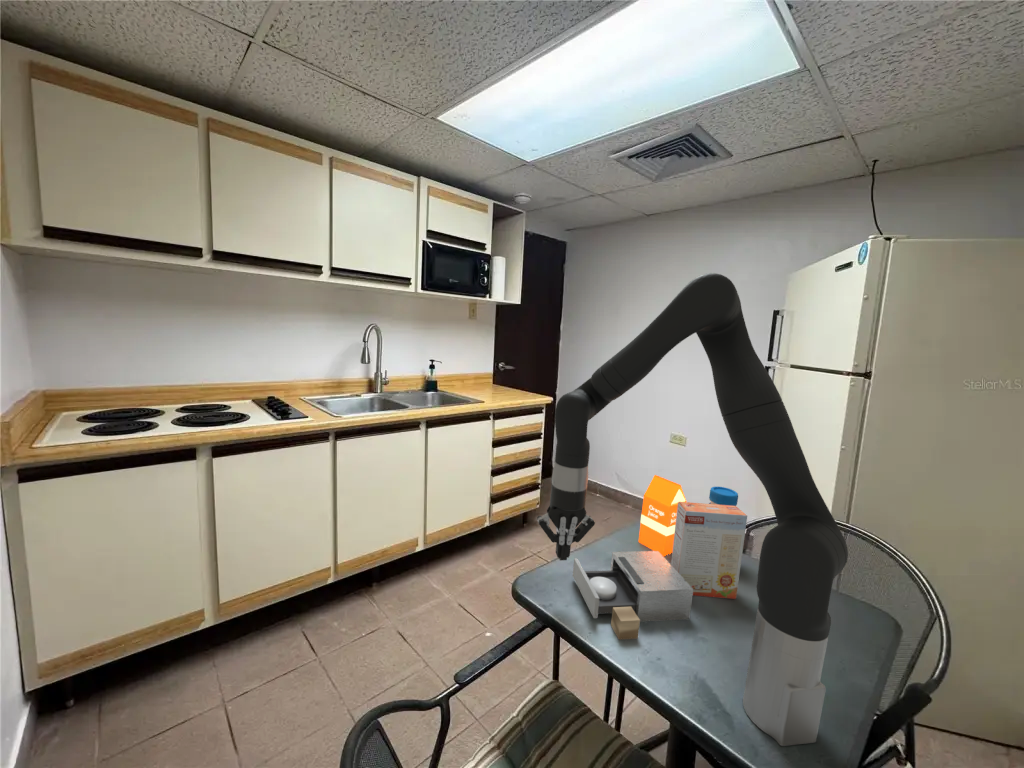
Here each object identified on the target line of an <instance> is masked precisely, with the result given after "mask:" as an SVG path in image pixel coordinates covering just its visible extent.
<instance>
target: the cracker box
mask: <svg viewBox="0 0 1024 768" xmlns="http://www.w3.org/2000/svg"><path fill="white" fill-rule="evenodd" d="M747 521H748V515H747V513H745V512H743V511H742V510H741V509H740V508H739V507H738V506H737V505H736V506H730V505H717V504H709V503H699V502H688V501H687V502H678V507H677V516H676V524H675V533H674V542H673V551H672V554H671V561H670V564H671V565H672V566H673V568H674V569H675V570H676V571H677V572H678V573H679V574H680V575H681V576H682V577H683V578H684V579H685V581H686V582H687V583H688V584H689V585H690V586H691V587H692V588H693V596H695V597H707V598H721V599H731V600H736V599H737V594H738V588H739V578H740V573H741V565H742V558H743V550H744V545H745V543H744V542H745V536H746V530H747V529H746V527H747V523H748V522H747ZM693 596H692V597H693Z"/></svg>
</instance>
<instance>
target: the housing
mask: <svg viewBox="0 0 1024 768" xmlns="http://www.w3.org/2000/svg"><path fill="white" fill-rule="evenodd" d="M611 553H612V554H611V563H610V570H621V571H622V573H623V574H624V576H625V577H626V579H627V580H628V581H629V583H630V584H631V586H632V587H633V588H634V590H635V591H636V593H637V594H638V597H637V605H636V612H635V613H636V615H637V616H638V618H639V619H640V623H643V622H644V623H645V622H663V621H676V620H677V621H679V620H680V621H681V620H690V617H691V611H692V610H691V609H692V602H693V588H692V587H691V586H690V585H689V584H688V583H687V582H686V581H685V579H684V578H683V577H682V576H681V575H680V574H679V573H678V572H677V571H676V570H675V569H674V568H673V566H672V565H671V562H670V561H668V560H667V559H666V557H665V556H662V555H661V554H660V552H659V551H653V550H648V551H646V550H643V551H641V550H639V551H638V550H637V551H635V550H634V551H612V552H611Z"/></svg>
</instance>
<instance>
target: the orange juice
mask: <svg viewBox="0 0 1024 768" xmlns="http://www.w3.org/2000/svg"><path fill="white" fill-rule="evenodd" d="M678 502H688V501H687V499H686V496H685V493H684V491H683V488H682V484H679V483H677V482H674V481H671V480H669V479H667V478H665V477H661V476H659V475H657V474H654V475H653V477H652V480H651V481H650V483H649V485H648V486H647V489H646V491H645V492H644V494H643V499H642V509H641V514H640V524H639V525H640V526H639V533H638V543H639V544H640V545H642V546H645V547H647V548H648V549H650V551H659V552H660V554H661V555H662V556H663V557H667V556H669V555H672V554H671V553H672V551H673V542H674V533H675V524H676V516H677V507H678ZM668 554H669V555H668ZM666 555H667V556H666Z"/></svg>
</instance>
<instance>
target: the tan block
mask: <svg viewBox="0 0 1024 768" xmlns="http://www.w3.org/2000/svg"><path fill="white" fill-rule="evenodd" d="M640 623H641V622H640V619H639V618H638V616H637V615H636V613H635V612H634V610H633V609H632V607H613V611H612V613H611V622H610V626H611V628H612V629H613V631H614V633H615V636H616V637H617V639H618V640H633V639H635V640H636V639H639V631H640V626H641V625H640Z"/></svg>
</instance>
